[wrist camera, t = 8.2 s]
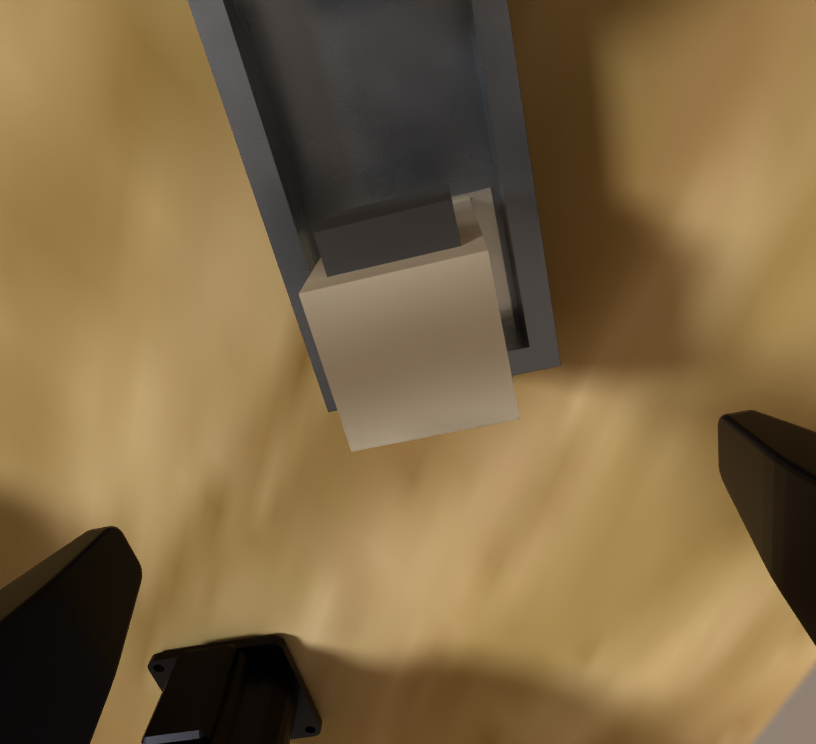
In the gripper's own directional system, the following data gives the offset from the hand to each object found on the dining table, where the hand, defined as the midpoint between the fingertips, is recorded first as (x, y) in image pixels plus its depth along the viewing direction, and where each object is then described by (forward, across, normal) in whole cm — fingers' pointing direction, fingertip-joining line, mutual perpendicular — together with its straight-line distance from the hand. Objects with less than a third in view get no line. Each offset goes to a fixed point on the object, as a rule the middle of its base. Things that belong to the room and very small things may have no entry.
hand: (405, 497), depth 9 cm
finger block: (+11, 0, 0) cm, 11 cm away
